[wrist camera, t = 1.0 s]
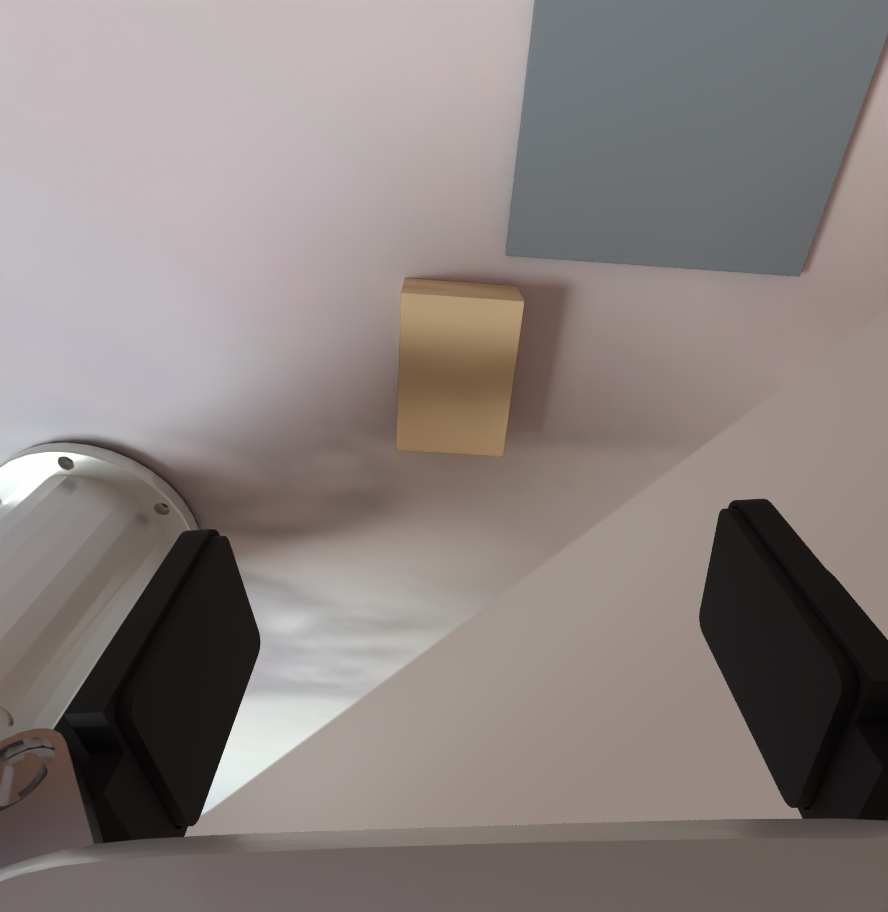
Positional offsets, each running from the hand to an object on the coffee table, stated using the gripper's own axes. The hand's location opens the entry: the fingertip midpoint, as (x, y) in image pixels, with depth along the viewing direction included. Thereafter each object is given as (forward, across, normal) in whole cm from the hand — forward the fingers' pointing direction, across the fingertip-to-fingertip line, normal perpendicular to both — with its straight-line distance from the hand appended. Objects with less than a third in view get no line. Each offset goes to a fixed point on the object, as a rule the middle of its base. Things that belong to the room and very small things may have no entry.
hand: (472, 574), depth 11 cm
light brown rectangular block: (+21, 0, +3) cm, 21 cm away
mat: (+20, -10, -8) cm, 24 cm away
